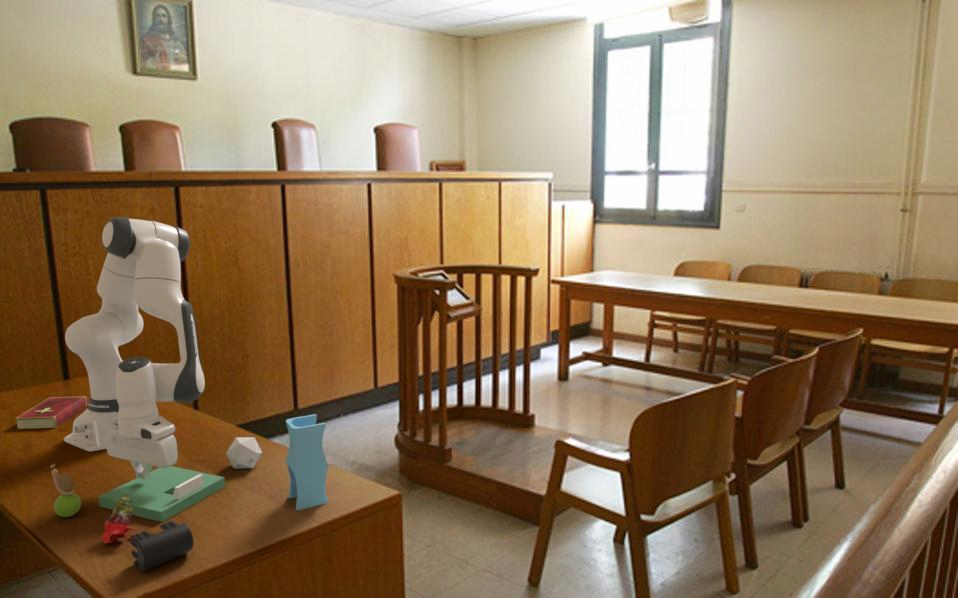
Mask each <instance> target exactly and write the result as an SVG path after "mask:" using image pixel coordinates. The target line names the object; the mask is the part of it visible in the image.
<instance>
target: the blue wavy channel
mask: <svg viewBox="0 0 958 598" xmlns="http://www.w3.org/2000/svg"><path fill="white" fill-rule="evenodd" d="M317 415H318V414H317V413H316V414H315V413H314V414H309V415H304V416H303V415H302V416H296V417H292V418H287V419H286V420H285V424H286V427H287V432H288V438H289V447H288V452H287V455H286V458H285V463H286V466H287V471H288V474H289V491H288V496H287V498H288V499H293V498H296V504H295V505H296V506H295V510H296V511H299V510H305V509H309V508H312V507H317V506H321V505H325V504H326V503H328V497H327V492H326V479H327V473H328V468H329V464H328V461H327V458H326V456H325V453H324V449H323V448H324V447H323V438H324V434H325V433H324V432H325V428H326V423H325V422H322V423H321V422H320V423H317V419H318V416H317Z"/></svg>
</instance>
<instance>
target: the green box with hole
mask: <svg viewBox="0 0 958 598" xmlns="http://www.w3.org/2000/svg"><path fill="white" fill-rule="evenodd" d="M150 475H151V476H150V478H148V479H142V478H137V477H136V478H134V479H132V480H130V481H129V482H126V483H124V484H122V485H120V486H118V487H115V488H113V489H111V490H110V491H107V492H105V493H103V494H101V495H99V496H98V498H97V499H98V507H100V508H105V509H108V510H112V511H113V510H114V506H115V505H116V503H117V501H118V500H120V499H121V498H123V497H127V498H131V499H132V502H131V509H132V513H131V516H136V517H140V518H143V519H147V520H151V521H156V522H160V523H164V522H165V521H167V520H169V519H170V518H172V517H175V516H176V515H178V514H180V513H182V512H183V511H185V510H187V509H188V508H190V507H192V506H193V505H195V504H197V503H199V502H201V501H202V500H204V499H206V498H207V497H209V496H212V494H215V493H216V492H219V491H220V490H222V489H224V488H225V487H226V479H225V476H220V475H216V474H210V473H205V472H201V471H196V470H191V469H187V468H181V467H178V466H174V465H172V466H170V467H168V468H161V467H157V468H155V469H153V470H151V471H150ZM174 490H175V495H173V493H174Z"/></svg>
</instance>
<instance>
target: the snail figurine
mask: <svg viewBox="0 0 958 598" xmlns="http://www.w3.org/2000/svg"><path fill="white" fill-rule="evenodd" d="M55 466H56V464H55V463H53V464H51V465H50V466H49V468H51V469H50V470H51V471H50V472H51V473H50V474H51V476H52V479H53V483H54V486H55V487H56V490H57V491H58V492H59V493H61V494H60V495H59V496H58V497H57V498H56V499H55V500H54V503H53V509H54V512H55V514H56V515H58V516H59V517H62V518H70V517H72V516H75V514H77V513H78V512H79V511H80V509H81V506H82V500H81V498H80V497H79V495H78V494H77V493H75V491H74V490H73V489H74V484H75V483H74V479H73V478H72V476H71V475H70V474H68V473H61V474H59V470H57V469H56V468H55Z"/></svg>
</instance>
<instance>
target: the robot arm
mask: <svg viewBox="0 0 958 598" xmlns="http://www.w3.org/2000/svg"><path fill="white" fill-rule="evenodd" d="M101 242H102V247H103V248H104V250H106V252H107V254H106V257H105V260H104V262H103V266H102V269H101V272H100V275H99V276H100V277H99V279H98V282H97V285H96V292H97V294H98V296H99V297H100V298H101V308H100V309H99V311H98V312H97V313H94V314H90V315H86V316H83V317H81V318H79V319H78V320H76V321H74V322H73V323H71V324H70V325H69V326H68V327H67V328H66V331H65V332H64V333H65V336H64V339H65V344H66V346H67V348H68V349H69V350H70V351H71V353H74V354H76V355H77V356H78V357H80V359H81V360H82V362H83V365H84V366H85V368H86V371H87V375H88V383H89V384H88V385H89V390H90V396H89V397H88V396H87V397H86V398H85V399H86V401H85V402H87V406H86V407H87V408H86V409H85V410H84V411H83V412H82V413H81V414H80V415H78V416H77V417H76V418H75V419H74V420H73V421H72V432H71V433H70V434H68V435H66V436H65V437H64V438H63V440H64V442H65V443H67V444H69V445H72V446H74V447H77V448H79V449H82V450H84V451H86V452H94V451H101V450H106V452H107V454H108V455H109V456H110V457H112V458H118V459H122V460H126V461H130V464H131V466H132V468H133V470H134V471H135V477H136V478H142V479H148V478H150V476H151V475H150V472H151V471H152V468H153V467H157V468H159V467H161V468H168V467H170V466H174V465H176V463H177V462H178V457H179V456H178V444H177V439H176V437H175V435H174V434H173V433H175V432H176V426H175V424H174V423H172V422H170V421H169V420H167V419H166V418H165V417H163V416H162V415H161V414H159V409H158V406H157V402H175V403H187V404H191V403H192V402H195V400H197V399H199V397H200V396H201V395H202V394H203V393H204V391H205V388H206V387H205V386H206V382H205V375H204V374H205V373H204V370H203V369H204V368H203V366H202V361H201V354H200V353H201V352H200V347H199V345H200V344H199V338H198V331H197V330H198V329H197V323H196V317H195V313H194V310H193V309H194V308H193V306H192V305H191V303H190V302H188V301H187V300H185V298H184V295H183V293H182V288H181V285H182V284H181V281H182V280H181V279H182V272H181V271H182V270H181V266H182V265H181V263H182V262H183V261H184V260H185V259H186V258H187V257H188V255H189V252H190V248H191V238H190V236H189V233H188V232H187V231H186V230H185V229H183V228H180V227H179V226H176V225H172V226H171V225H170V224H166V223H161V222H158V221H155V220H145V219H136V218H128V217H127V216H126V217H125V216H115V217H112V218H110V219H109V220H107V221H106V223H105V225H104V227H103V231H102V234H101ZM139 309H141V310H142V311H143V312H145V313H146V314H148V315H150V316H153V317H154V318H157V319H161V320H163V321H166V322H168V323H170V324H171V325H172V326H173V327H174V328H175V330H176V332H177V338H178V339H177V340H178V349H179V358H180V361H179V362H178V363H157V362H156V363H155V362H151V360H150V359H149V358H147V357H142V356H136V357H131V358H127V359H124V360H123V359H122V357H121V356H120V352H119V347H120V346H123V345H125V344H127V343H130V342H132V341H133V340H134V339H135V338H137V337H138V336H140V334H141V333H142V332H143V330H144V318H143V317H142V315H141V313H140V312H139Z"/></svg>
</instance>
